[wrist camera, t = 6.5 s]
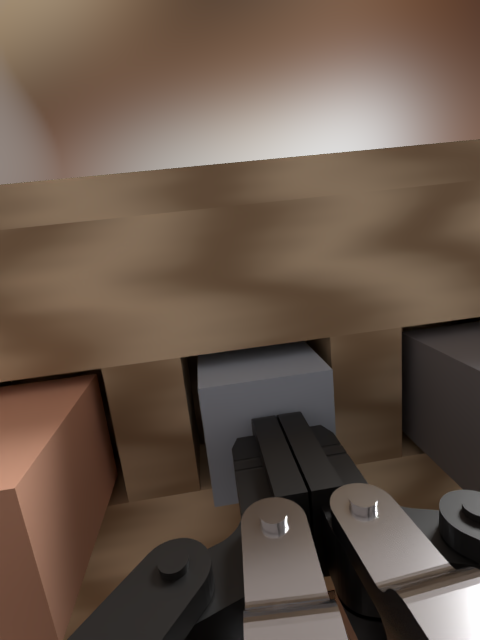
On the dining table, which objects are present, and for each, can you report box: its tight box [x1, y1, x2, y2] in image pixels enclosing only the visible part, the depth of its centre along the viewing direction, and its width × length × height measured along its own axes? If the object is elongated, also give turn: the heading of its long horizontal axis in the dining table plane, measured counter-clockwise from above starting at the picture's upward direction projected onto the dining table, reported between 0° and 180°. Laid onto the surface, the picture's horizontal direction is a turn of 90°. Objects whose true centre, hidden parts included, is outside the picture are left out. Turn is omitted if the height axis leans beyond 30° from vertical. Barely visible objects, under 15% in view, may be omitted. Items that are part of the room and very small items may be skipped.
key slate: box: [198, 341, 336, 507], centre depth 14 cm, size 4×6×4 cm, turn 6°
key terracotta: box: [0, 374, 118, 640], centre depth 10 cm, size 4×6×4 cm, turn 6°
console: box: [0, 139, 480, 640], centre depth 17 cm, size 25×9×16 cm, turn 96°
